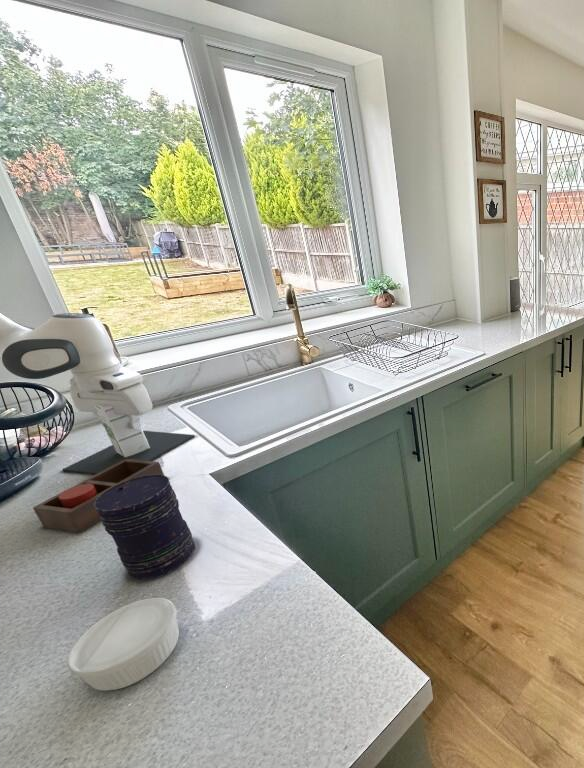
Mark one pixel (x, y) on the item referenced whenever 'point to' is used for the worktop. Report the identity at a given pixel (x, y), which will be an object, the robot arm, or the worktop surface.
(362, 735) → the worktop surface
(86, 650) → the ramekin
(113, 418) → the syrup box
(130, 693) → the worktop surface
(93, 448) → the worktop surface
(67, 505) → the spice tin
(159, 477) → the dark blue cylinder
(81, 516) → the caddy
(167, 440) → the mat
